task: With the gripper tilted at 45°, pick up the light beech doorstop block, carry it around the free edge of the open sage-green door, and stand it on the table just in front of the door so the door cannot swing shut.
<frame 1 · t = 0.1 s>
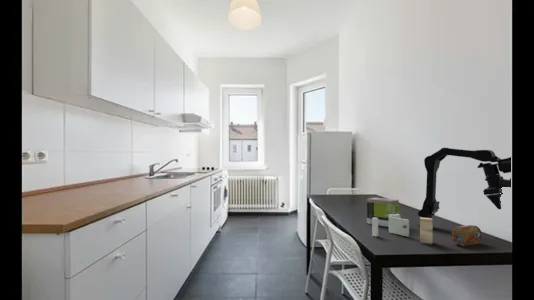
hand: (502, 208, 142), 15 cm above the table, tool pointing down, fingers open, 9 cm apart
tea box: (382, 224, 175), on the table
door frame: (389, 232, 157), on the table
tin: (466, 244, 137), on the table
doorstop block: (426, 242, 139), on the table
door leaf: (398, 226, 152), point 4 cm above the table, hinge at 90.0°
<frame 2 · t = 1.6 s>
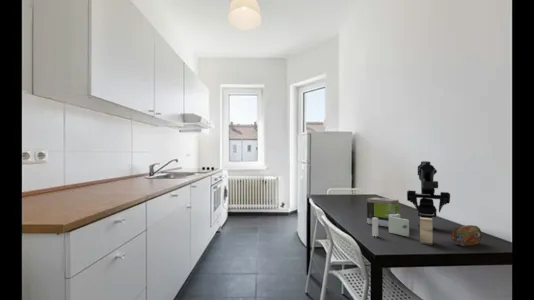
hand: (428, 211, 145), 13 cm above the table, tool tilted 45°, fingers open, 9 cm apart
nothing on the table moved.
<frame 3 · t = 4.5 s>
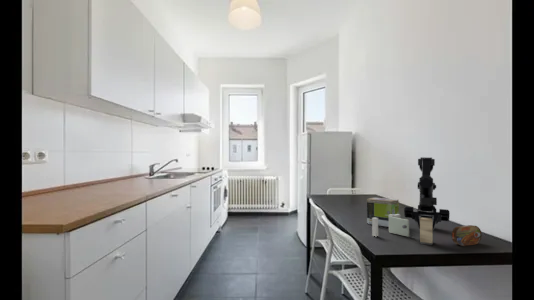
hand: (426, 229, 138), 7 cm above the table, tool tilted 45°, fingers closed on doorstop block, 5 cm apart
doorstop block: (426, 242, 139), on the table, touching gripper
everything else where it was.
when the fingers open (8 cm above the table, at t = 8.8 s): doorstop block drops 1 cm, on the table.
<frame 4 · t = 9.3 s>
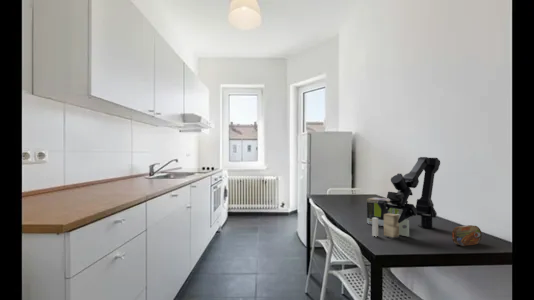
hand: (389, 220, 148), 8 cm above the table, tool tilted 45°, fingers open, 9 cm apart
doorstop block: (391, 236, 148), on the table
everything else where it was.
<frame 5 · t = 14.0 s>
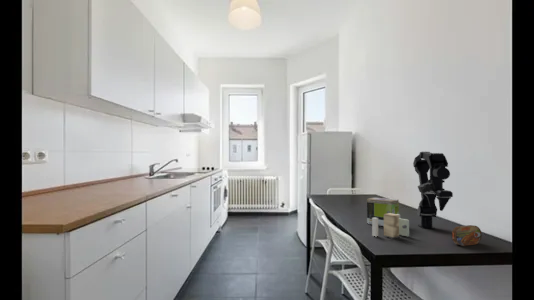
hand: (436, 209, 153), 13 cm above the table, tool pointing down, fingers open, 9 cm apart
nothing on the table moved.
at the end: doorstop block 0.0 cm from the target spot, on the table; doorstop block tilted 0°; door leaf at +90° (first picture: +90°) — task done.
